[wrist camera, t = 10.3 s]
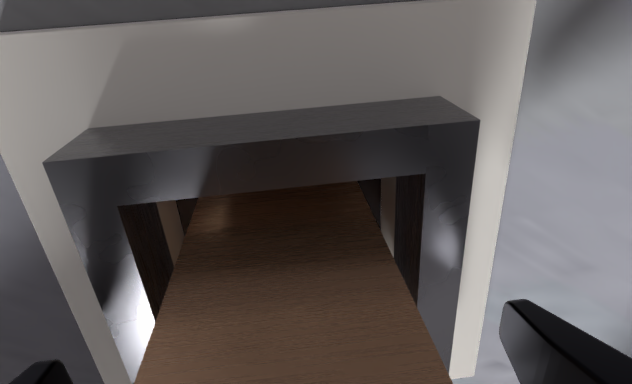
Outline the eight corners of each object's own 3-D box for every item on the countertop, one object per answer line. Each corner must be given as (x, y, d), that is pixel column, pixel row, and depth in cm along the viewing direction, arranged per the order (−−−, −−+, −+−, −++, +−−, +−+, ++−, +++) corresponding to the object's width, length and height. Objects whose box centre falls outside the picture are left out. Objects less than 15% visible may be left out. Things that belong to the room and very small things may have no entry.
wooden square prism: (227, 285, 13) (161, 755, 5) (206, 173, 11) (51, 622, 3) (349, 272, 13) (471, 695, 5) (347, 161, 11) (529, 545, 3)
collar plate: (136, 385, 14) (100, 492, 11) (-5, 32, 9) (-147, 52, 6) (456, 342, 15) (504, 432, 12) (501, -6, 10) (608, -6, 7)
